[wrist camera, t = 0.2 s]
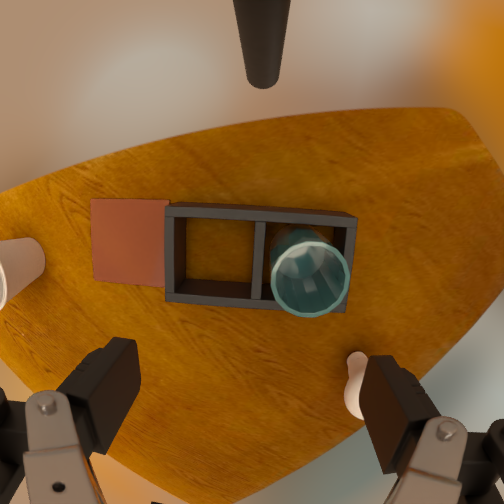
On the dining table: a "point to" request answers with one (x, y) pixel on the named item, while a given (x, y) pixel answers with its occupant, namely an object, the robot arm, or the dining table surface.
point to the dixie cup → (19, 266)
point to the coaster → (128, 241)
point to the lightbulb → (355, 382)
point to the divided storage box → (253, 292)
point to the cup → (306, 271)
